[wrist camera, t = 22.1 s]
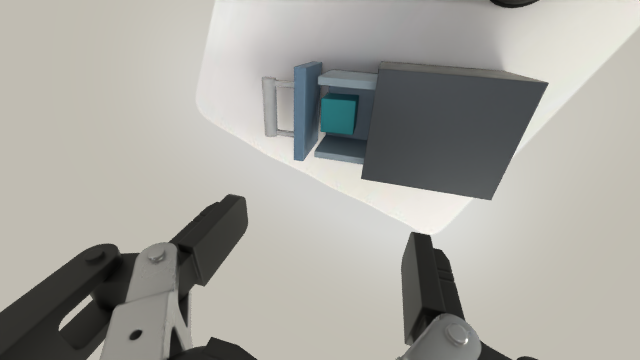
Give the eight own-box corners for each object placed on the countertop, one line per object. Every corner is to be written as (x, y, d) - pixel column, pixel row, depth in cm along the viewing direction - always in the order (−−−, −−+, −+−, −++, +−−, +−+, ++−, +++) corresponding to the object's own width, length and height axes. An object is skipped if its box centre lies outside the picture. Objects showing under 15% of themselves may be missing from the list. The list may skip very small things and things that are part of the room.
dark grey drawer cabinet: (366, 149, 36) (360, 179, 28) (381, 61, 30) (378, 68, 22) (467, 163, 33) (491, 200, 26) (504, 71, 28) (549, 82, 20)
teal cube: (326, 123, 33) (320, 131, 30) (327, 92, 31) (321, 98, 28) (356, 126, 33) (352, 135, 30) (359, 94, 31) (355, 100, 28)
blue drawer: (279, 135, 37) (257, 154, 31) (277, 58, 32) (250, 62, 26) (397, 152, 34) (398, 176, 28) (416, 70, 29) (423, 78, 23)
